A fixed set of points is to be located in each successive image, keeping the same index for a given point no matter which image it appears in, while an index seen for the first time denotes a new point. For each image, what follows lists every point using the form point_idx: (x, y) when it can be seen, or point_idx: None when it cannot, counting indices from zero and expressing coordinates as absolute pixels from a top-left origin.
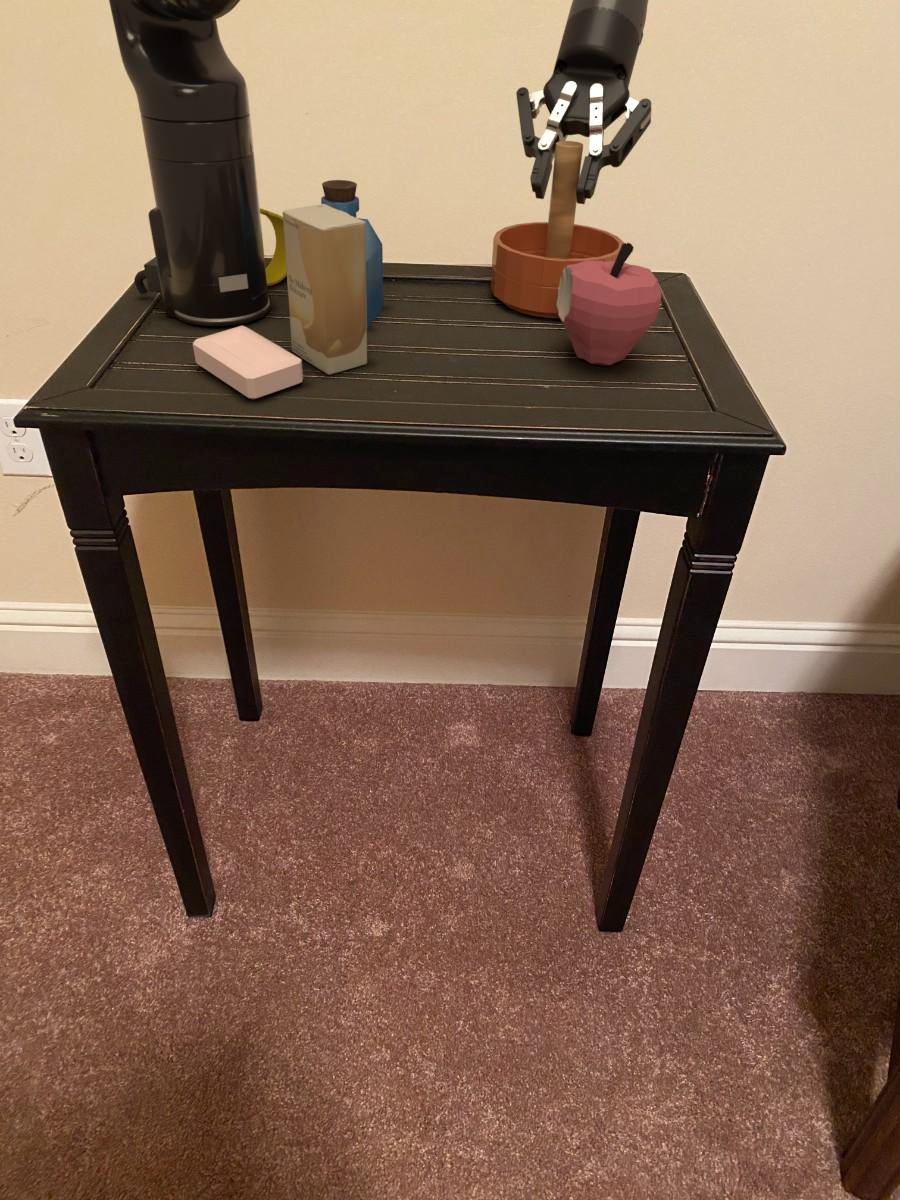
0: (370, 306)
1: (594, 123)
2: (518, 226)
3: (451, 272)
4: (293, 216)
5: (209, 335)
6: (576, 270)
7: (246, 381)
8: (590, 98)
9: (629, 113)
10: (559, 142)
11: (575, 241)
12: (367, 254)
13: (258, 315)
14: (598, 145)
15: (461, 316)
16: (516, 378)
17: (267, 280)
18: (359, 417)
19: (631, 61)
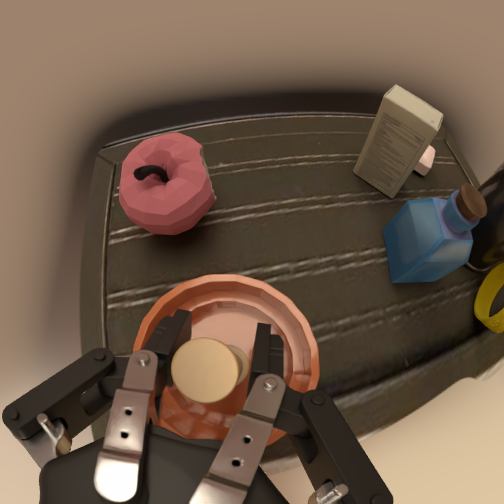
0: (391, 235)
1: (135, 396)
2: None
3: (358, 415)
4: (430, 106)
5: (432, 151)
6: (196, 149)
7: None
8: (137, 461)
9: (51, 423)
10: (230, 374)
11: (205, 437)
12: (414, 213)
13: None
14: (135, 366)
15: (318, 284)
16: (244, 171)
17: (479, 302)
18: (324, 118)
19: None
